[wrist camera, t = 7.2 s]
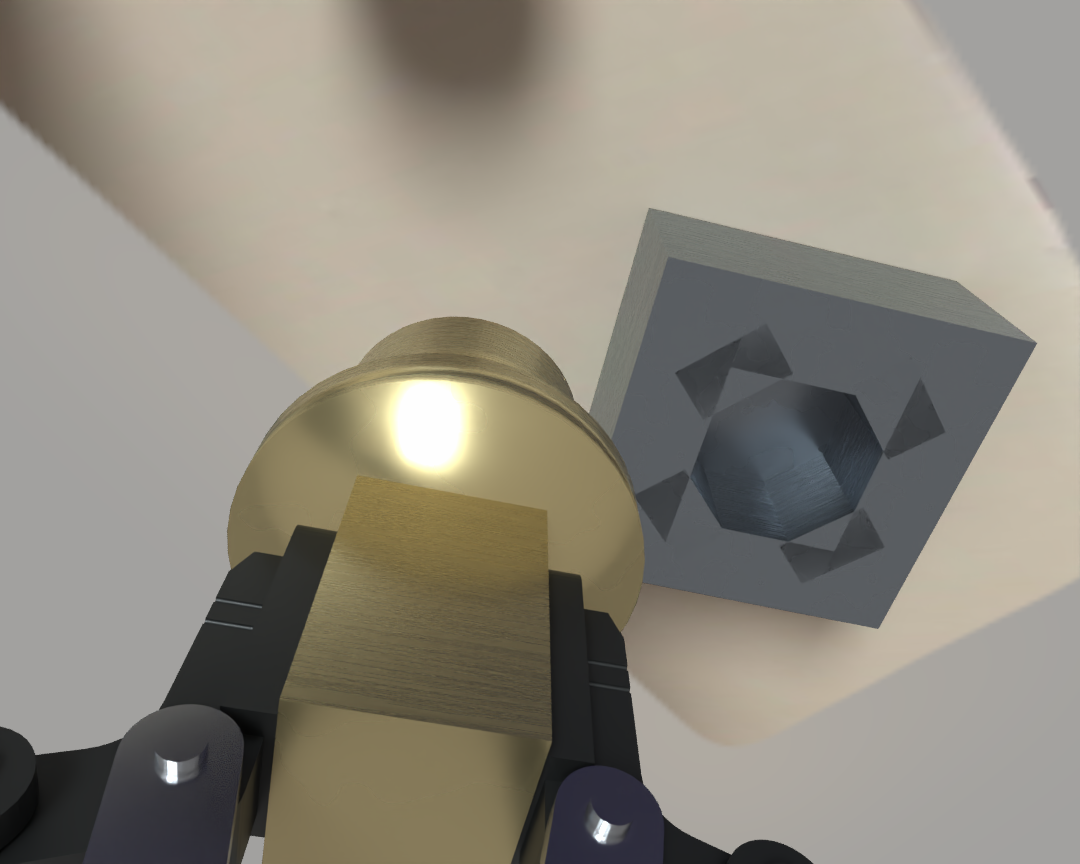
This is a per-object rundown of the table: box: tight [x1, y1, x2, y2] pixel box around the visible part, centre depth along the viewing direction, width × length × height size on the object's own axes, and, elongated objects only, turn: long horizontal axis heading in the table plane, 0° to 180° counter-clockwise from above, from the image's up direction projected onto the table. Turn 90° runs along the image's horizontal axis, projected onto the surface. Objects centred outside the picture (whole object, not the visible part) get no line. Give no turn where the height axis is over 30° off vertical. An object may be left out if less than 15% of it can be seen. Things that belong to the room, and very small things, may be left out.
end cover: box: [227, 317, 645, 864], centre depth 14 cm, size 7×7×9 cm
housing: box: [589, 208, 1037, 629], centre depth 31 cm, size 12×12×6 cm
